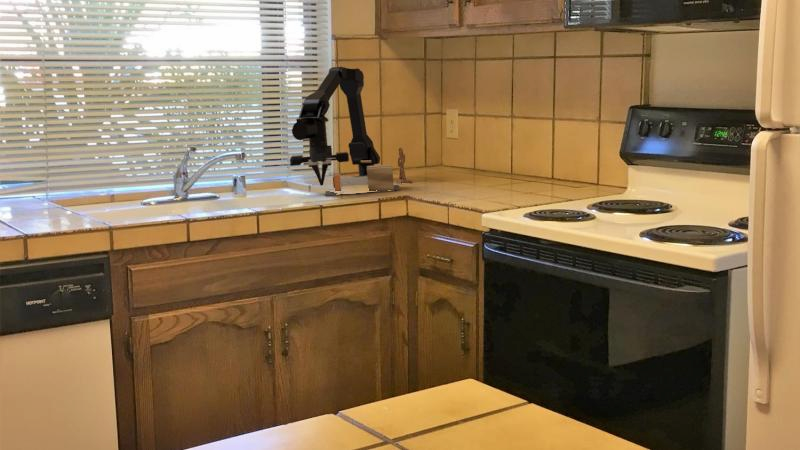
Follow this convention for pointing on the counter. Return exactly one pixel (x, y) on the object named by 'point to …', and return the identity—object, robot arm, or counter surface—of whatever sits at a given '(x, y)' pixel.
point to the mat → (396, 187)
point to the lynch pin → (348, 181)
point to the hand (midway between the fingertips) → (321, 185)
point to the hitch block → (380, 177)
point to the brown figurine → (402, 168)
